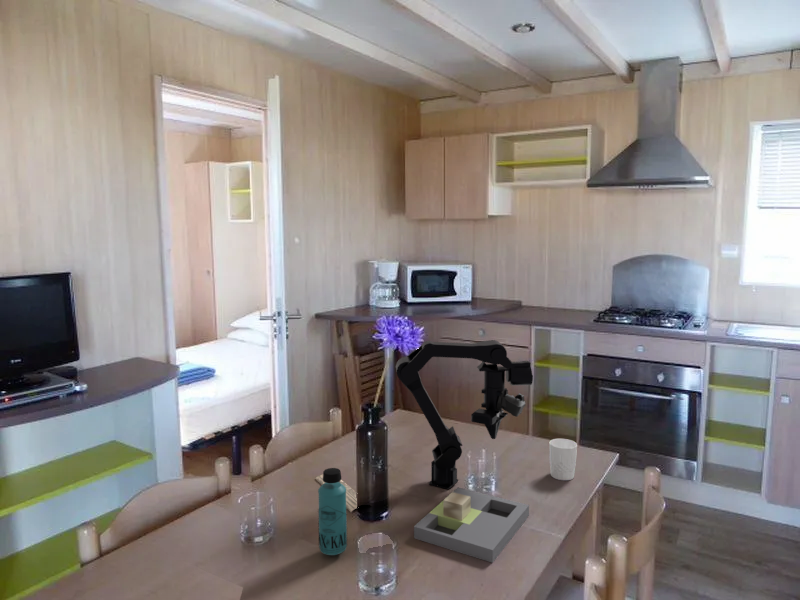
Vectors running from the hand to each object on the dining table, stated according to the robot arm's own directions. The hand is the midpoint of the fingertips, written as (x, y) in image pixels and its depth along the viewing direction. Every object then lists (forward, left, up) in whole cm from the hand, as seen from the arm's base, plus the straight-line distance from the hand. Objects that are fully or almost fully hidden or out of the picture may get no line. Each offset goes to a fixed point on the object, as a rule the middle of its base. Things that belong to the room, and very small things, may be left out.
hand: (493, 438), depth 168 cm
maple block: (+2, -27, -10) cm, 29 cm away
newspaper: (-33, -27, -14) cm, 45 cm away
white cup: (+16, +14, -13) cm, 25 cm away
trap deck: (+6, -26, -13) cm, 30 cm away
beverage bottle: (-17, -53, -13) cm, 57 cm away
